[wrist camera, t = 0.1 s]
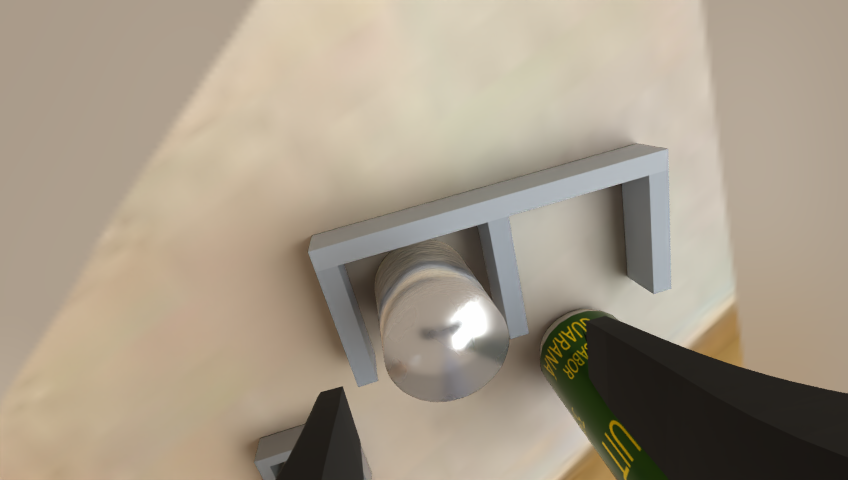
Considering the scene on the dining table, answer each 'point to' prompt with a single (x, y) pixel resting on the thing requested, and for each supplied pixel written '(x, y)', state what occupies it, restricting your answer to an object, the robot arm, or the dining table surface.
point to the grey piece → (502, 236)
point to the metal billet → (437, 323)
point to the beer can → (591, 397)
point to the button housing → (285, 453)
